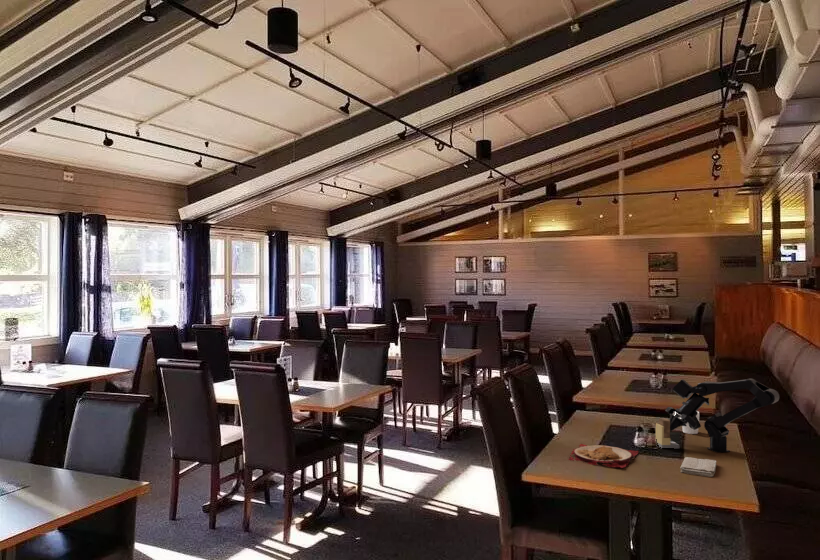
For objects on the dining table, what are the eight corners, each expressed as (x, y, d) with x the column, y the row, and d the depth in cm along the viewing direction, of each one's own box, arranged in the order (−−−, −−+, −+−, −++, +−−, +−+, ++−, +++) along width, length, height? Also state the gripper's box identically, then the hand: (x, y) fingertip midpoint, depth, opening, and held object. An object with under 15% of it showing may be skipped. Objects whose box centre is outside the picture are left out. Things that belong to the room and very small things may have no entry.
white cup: (695, 430, 301) (696, 410, 301) (701, 434, 293) (702, 413, 293) (678, 430, 302) (679, 409, 302) (684, 434, 294) (684, 413, 294)
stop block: (665, 441, 274) (665, 418, 274) (669, 443, 270) (669, 420, 270) (658, 441, 274) (659, 418, 274) (663, 443, 270) (663, 420, 270)
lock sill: (672, 444, 276) (672, 423, 276) (679, 448, 269) (679, 426, 269) (655, 444, 275) (655, 423, 275) (661, 448, 269) (662, 426, 269)
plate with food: (638, 455, 261) (638, 447, 261) (623, 470, 239) (623, 461, 239) (580, 447, 274) (580, 439, 274) (561, 461, 252) (561, 452, 252)
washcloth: (679, 474, 236) (679, 466, 236) (683, 461, 252) (683, 454, 252) (714, 479, 230) (714, 470, 230) (716, 466, 246) (716, 458, 246)
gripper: (716, 422, 264) (691, 449, 264) (694, 413, 283) (670, 438, 282) (697, 404, 264) (672, 431, 263) (677, 396, 282) (653, 421, 282)
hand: (667, 431), depth 273 cm, fingers closed, pressing on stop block
